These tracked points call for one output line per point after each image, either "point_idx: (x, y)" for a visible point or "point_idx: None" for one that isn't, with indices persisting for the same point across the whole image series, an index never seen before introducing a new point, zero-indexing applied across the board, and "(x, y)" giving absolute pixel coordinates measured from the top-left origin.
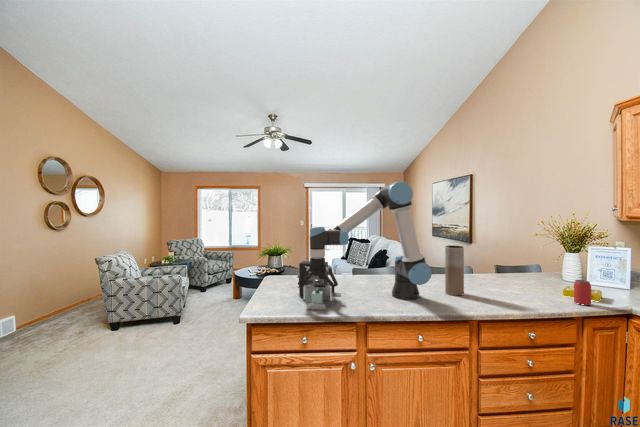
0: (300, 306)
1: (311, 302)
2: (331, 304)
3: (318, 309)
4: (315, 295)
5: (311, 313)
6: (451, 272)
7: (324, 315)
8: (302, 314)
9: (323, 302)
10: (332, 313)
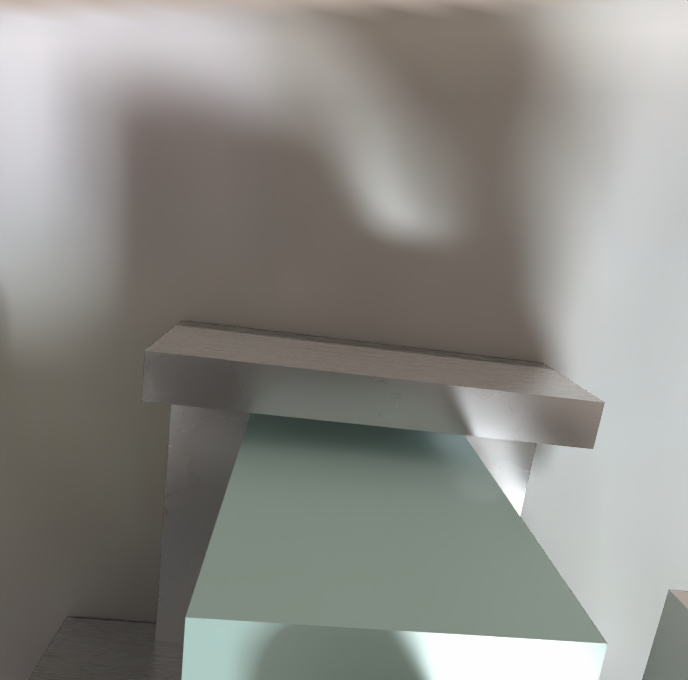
0: (657, 531)
1: None
2: (75, 631)
3: (314, 340)
4: (433, 583)
5: (447, 147)
6: None
7: (165, 24)
8: (628, 79)
9: None
10: (4, 161)
